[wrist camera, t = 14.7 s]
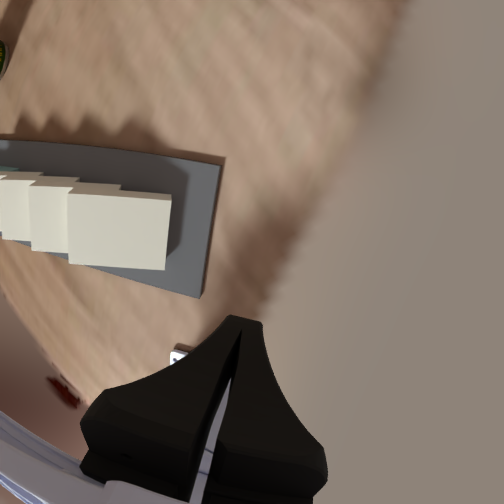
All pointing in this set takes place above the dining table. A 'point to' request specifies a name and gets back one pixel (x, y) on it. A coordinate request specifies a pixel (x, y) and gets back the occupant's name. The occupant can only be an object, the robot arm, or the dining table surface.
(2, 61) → the green drink can
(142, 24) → the dining table surface
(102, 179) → the charcoal mat
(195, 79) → the dining table surface
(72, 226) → the ivory domino
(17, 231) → the ivory domino
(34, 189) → the ivory domino
